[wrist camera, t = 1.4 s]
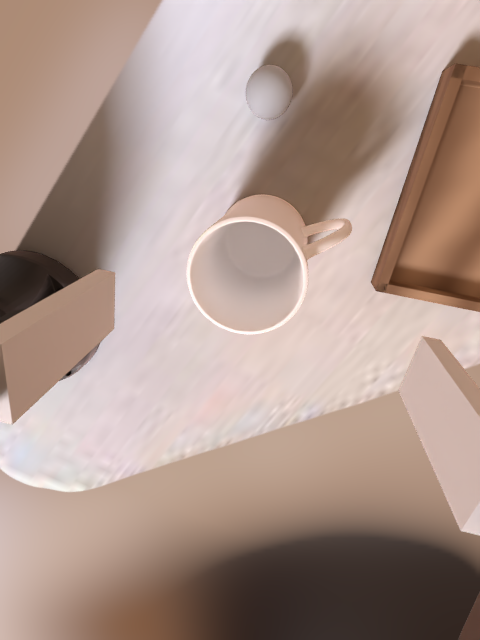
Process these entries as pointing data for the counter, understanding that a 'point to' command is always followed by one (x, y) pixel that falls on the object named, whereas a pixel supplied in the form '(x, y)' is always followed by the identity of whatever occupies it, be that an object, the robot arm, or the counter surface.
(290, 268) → the mug
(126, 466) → the counter surface
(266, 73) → the ball
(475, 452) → the robot arm
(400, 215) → the tray
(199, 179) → the counter surface
